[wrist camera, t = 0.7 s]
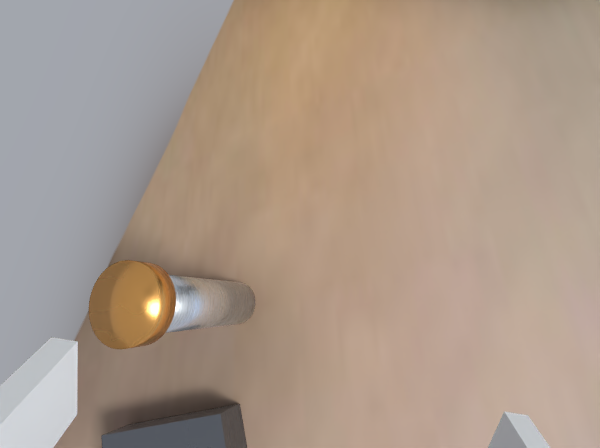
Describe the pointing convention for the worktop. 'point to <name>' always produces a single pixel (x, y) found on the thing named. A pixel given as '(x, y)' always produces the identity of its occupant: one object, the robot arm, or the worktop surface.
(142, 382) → the worktop surface
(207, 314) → the steel pin
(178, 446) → the plate
